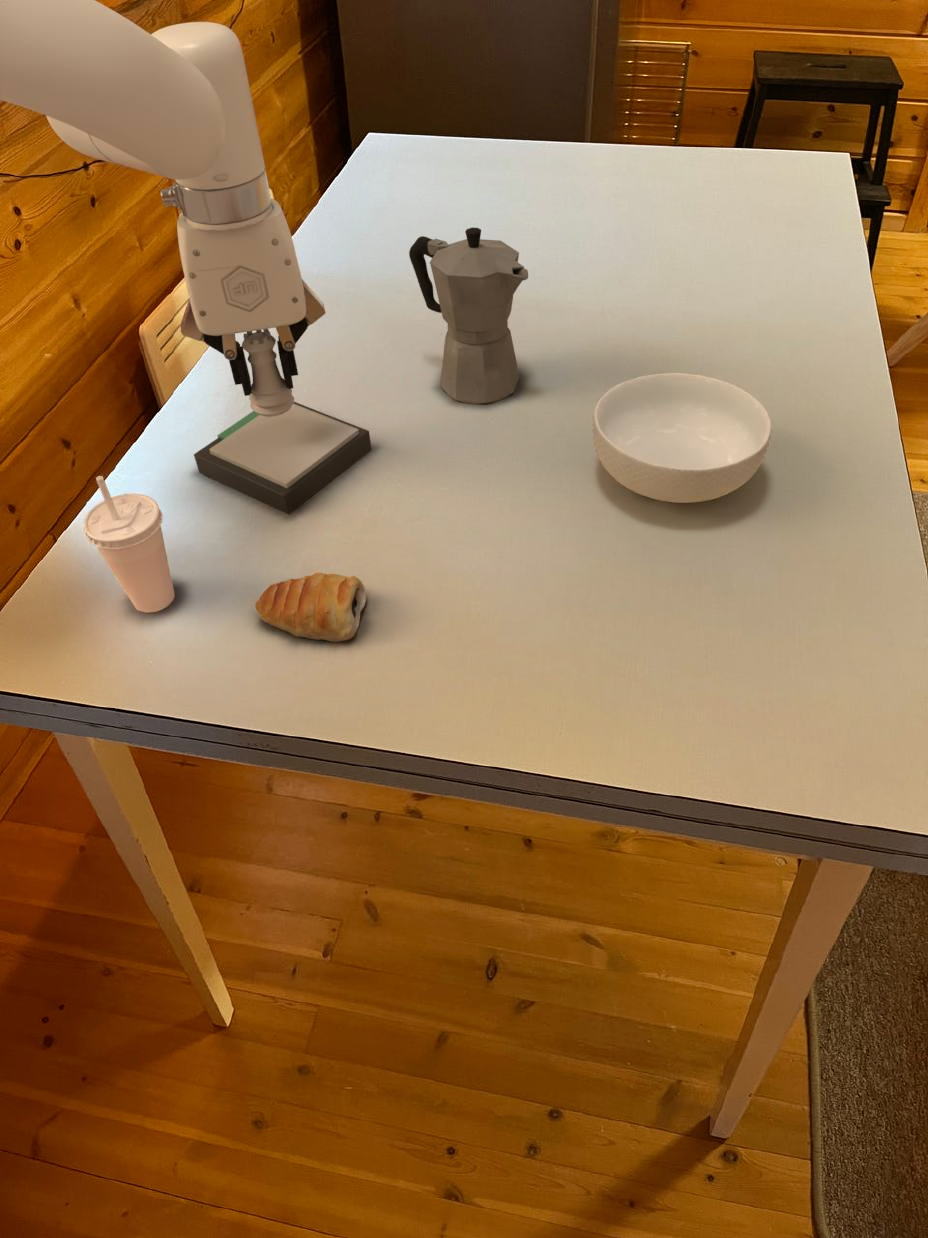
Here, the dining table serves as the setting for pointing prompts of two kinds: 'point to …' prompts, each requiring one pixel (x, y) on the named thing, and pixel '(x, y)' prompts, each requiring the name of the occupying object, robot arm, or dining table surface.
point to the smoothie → (132, 546)
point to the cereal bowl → (680, 436)
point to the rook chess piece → (266, 376)
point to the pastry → (315, 606)
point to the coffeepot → (473, 312)
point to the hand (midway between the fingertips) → (268, 383)
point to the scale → (283, 455)
